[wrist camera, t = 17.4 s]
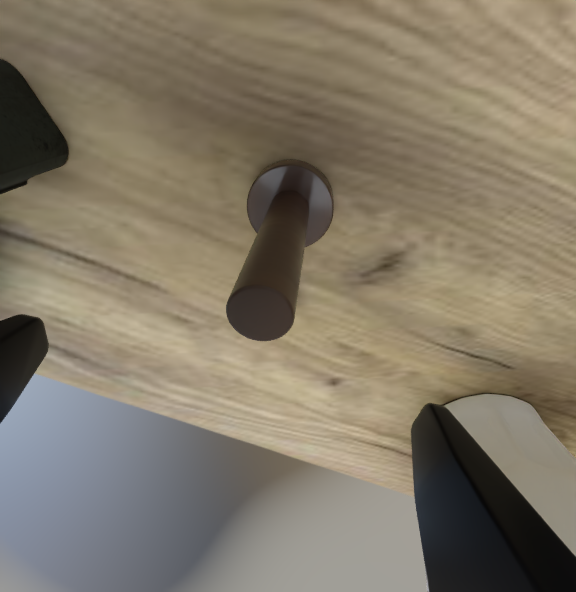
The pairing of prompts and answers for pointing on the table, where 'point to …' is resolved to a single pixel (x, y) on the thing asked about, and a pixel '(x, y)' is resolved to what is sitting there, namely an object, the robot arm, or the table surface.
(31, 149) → the candle
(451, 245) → the table surface
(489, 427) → the cup
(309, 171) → the brown peg stand
